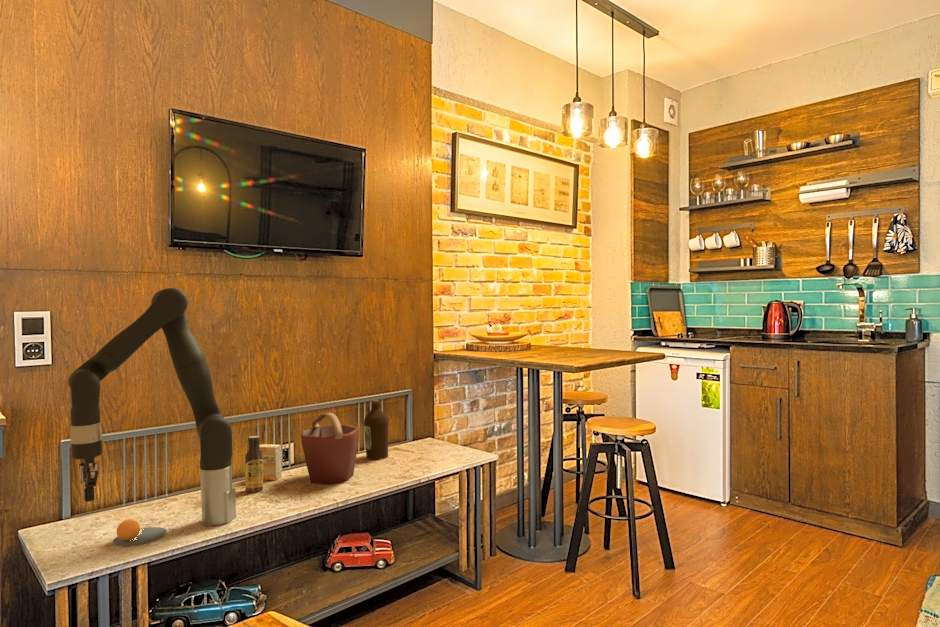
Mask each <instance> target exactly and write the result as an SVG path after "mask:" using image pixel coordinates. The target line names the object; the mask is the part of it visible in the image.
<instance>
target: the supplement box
mask: <svg viewBox="0 0 940 627" xmlns="http://www.w3.org/2000/svg"><path fill="white" fill-rule="evenodd" d="M259 446H260V450H261V452H262V455H263V481H277V480H280V479H281V478H282V477H283V476H282V444H268V443H267V444H264V443H263V444H262V443H261V444H259Z"/></svg>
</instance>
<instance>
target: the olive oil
mask: <svg viewBox="0 0 940 627" xmlns="http://www.w3.org/2000/svg"><path fill="white" fill-rule="evenodd" d="M363 430H364V442H365V452H366V453H365V455H366V459H368V460H373V461H374V460H382V459H383V460H384V459H386V458H388V457H389V418H388V415H387V414H385V413H384V411H383V410H381V408H380V400H379V399H372V400H371V409H370V411H369V412H368V413H367V414H366V415H365V418H364V420H363Z"/></svg>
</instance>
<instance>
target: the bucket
mask: <svg viewBox="0 0 940 627" xmlns="http://www.w3.org/2000/svg"><path fill="white" fill-rule="evenodd" d="M325 417H328V419H329V420H330V422H331V424H332V425H320V424H319V422H321V421H322V420H324V419H325ZM311 426H312V427H311V428H307V429H306V428H305V429H302V430H300V440H301V441H300V442H301V446H302V450H303V456H304V459H305V460H304V461H305V464H306V468H307V472H308V477H309V482H310V484H312V485H321V486H322V485H325V486H329V485H335V484H341V483H346V482H348V481H349V480H350V479H351V478H352V477H353V476H354V474H355V473H354V472H355V467H356V459H357V453H358V448H359V441H360V427H357V426H354V425H353V426H352V425H349V424H341V422H340V419H339V418H338V416H337V415H336V414H335V413H333V412H325V413H324V412H323V413H320V414H319V415H318V416H317V417H315V419H313V421H312V422H311Z"/></svg>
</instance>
